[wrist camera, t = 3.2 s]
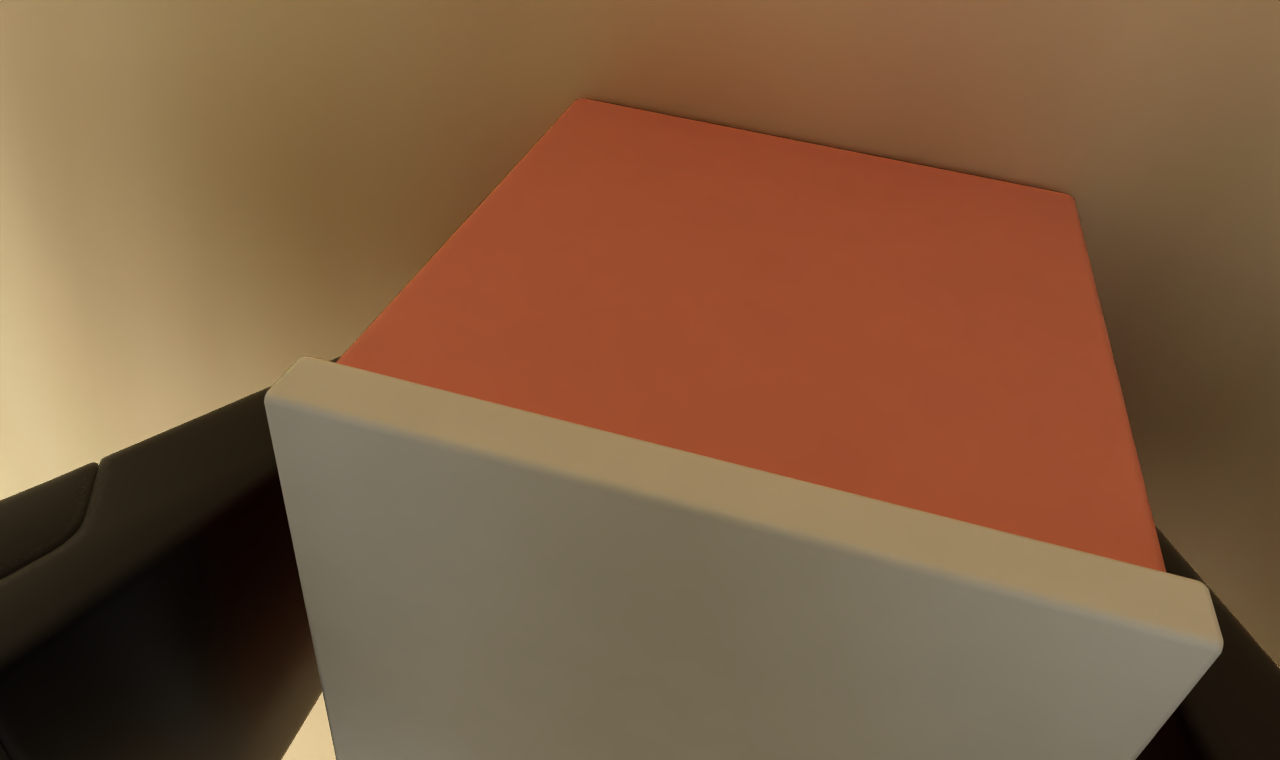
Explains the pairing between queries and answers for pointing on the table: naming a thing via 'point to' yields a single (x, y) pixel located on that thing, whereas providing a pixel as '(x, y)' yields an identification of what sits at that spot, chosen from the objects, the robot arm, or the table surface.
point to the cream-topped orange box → (735, 472)
